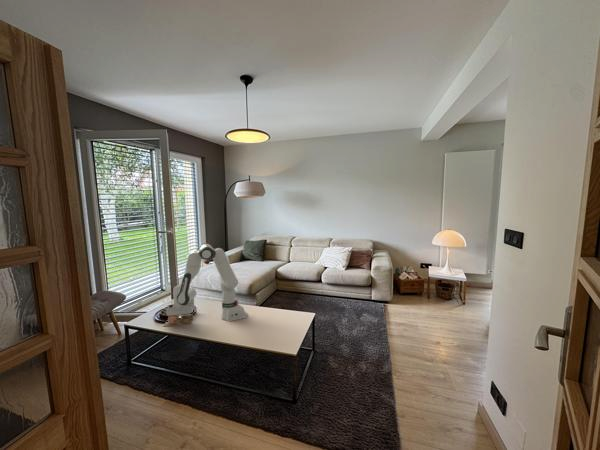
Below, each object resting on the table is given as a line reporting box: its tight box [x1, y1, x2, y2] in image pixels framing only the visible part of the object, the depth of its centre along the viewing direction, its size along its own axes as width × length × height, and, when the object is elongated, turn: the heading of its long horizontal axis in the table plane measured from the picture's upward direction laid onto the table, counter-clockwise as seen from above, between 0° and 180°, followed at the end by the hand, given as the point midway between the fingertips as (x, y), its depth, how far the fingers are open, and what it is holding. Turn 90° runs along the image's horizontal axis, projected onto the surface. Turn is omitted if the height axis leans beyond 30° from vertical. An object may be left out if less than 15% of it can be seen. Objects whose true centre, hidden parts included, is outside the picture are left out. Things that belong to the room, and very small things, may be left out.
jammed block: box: [167, 315, 178, 324], centre depth 210 cm, size 6×6×6 cm
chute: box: [163, 313, 194, 328], centre depth 212 cm, size 21×10×4 cm, turn 104°
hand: (180, 319), depth 212 cm, fingers closed
